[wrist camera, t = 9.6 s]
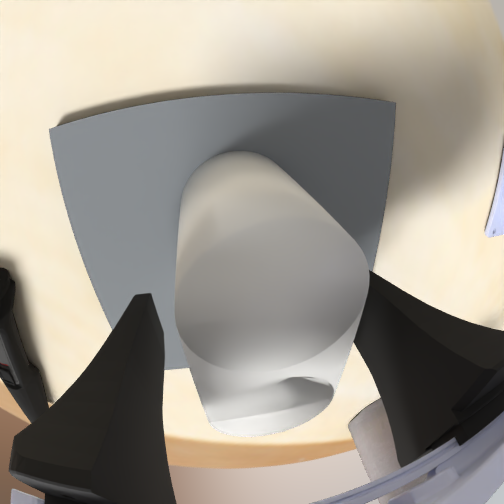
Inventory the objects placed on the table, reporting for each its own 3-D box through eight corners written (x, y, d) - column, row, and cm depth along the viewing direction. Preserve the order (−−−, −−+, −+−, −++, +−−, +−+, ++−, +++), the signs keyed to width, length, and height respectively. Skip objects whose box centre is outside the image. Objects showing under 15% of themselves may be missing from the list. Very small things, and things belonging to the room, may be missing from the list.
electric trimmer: (25, 395, 17) (19, 423, 15) (-28, 256, 10) (-55, 289, 8) (60, 406, 18) (55, 435, 16) (17, 268, 11) (-8, 307, 9)
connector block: (294, 147, 10) (386, 209, 5) (284, 347, 16) (316, 435, 11) (173, 157, 10) (153, 233, 5) (208, 359, 16) (222, 454, 11)
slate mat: (387, 101, 10) (395, 102, 10) (350, 330, 18) (354, 336, 17) (55, 126, 8) (48, 129, 8) (135, 364, 16) (134, 372, 15)
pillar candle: (415, 400, 31) (459, 481, 18) (353, 435, 32) (389, 520, 19) (415, 375, 26) (474, 478, 13) (338, 418, 27) (384, 530, 14)
